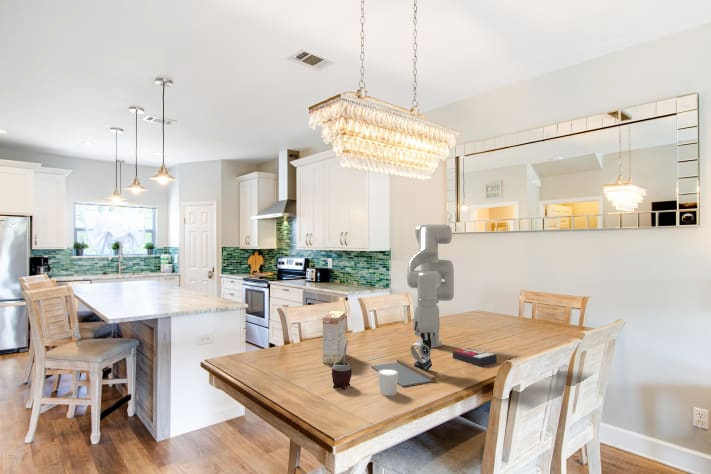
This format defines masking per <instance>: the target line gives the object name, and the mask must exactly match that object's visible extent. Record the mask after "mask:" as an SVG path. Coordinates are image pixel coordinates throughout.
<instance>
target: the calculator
mask: <svg viewBox="0 0 711 474" xmlns="http://www.w3.org/2000/svg"><path fill="white" fill-rule="evenodd" d="M452 359H454V360H457V361H460V362H463V363H467V364H471V365H473V366H476V367H479V368H483V367H486V366H491V365H493V364H497V363H498V362H497V360H498V359H497V354H495V353H493V352H488V351H485V350H482V349H476V348H473V347H472V348H471V347H466V348H462V349H458V350H453V352H452Z"/></svg>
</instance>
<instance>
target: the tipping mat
mask: <svg viewBox="0 0 711 474" xmlns="http://www.w3.org/2000/svg"><path fill="white" fill-rule="evenodd" d="M370 367H371V369H373V370H374V371H376V372H378V371H380V370H382V369H393V370H396V371H398V382H397V386H400V387H402V388H406V387H407V388H408V387H413V386H418V385H423V384H425V385H426V384H429V383H435V382H436V380H437V379H436V376H435V375H433V374H432V373H429V372H428V371H424V370H422V369H420V368H418V367H415V366H414V364H412V363H410V362H408V361H406V360H405V359H402V358H399V359H398V358H397V359H396V362H391V363H384V364H378V365H377V364H376V365H371V366H370Z"/></svg>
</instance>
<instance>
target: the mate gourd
mask: <svg viewBox="0 0 711 474" xmlns="http://www.w3.org/2000/svg"><path fill="white" fill-rule="evenodd" d="M348 342H349V340H346V339H345V348H344V356H343V361H339V362H337V363H335V364H333V365H332V367H331V368H332V370H331V378H332V382H333V383H332V384H333V386H332V389H337V388H338V389H339V388H340V389H341V388H342V390H344V391H345V390H347V387H351V384H350V382H351V378H352V374H353V373H352V366H351V364H350V363H349V362H346V358H347V357H346V355H347V349H348V348H347V347H348Z"/></svg>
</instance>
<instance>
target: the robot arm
mask: <svg viewBox="0 0 711 474" xmlns="http://www.w3.org/2000/svg"><path fill="white" fill-rule="evenodd" d="M414 230H415V232H414V234H415V239H416V240H417V243H418V252H417V253H416V254H414V255H413V256H412V257H411V259H410V260H409V262H408V265H407V271H406V273H407V274H406V283H407V285H408V287H409V288H411V289H417V306H415V309H414V314H413V323H412V324H413V325H412V326H413V327H412V329H413V331H414V335H415V336H416V337H418V340H416V342H420V343H423V344H426V345H427V346H429V348H430V351H431V350H432V349H433V348H440V347H442V346H443V342H442V341H440V327H441V326H440V325H441V324H440V323H441V322H440V308H439V306H438V305H437V304H439V301H441V302H446V301H447V302H449V301H452V300H453V299H454V296H455V267H454V264H453V262H452V261H451V260H449V259H439V245H440V244H441V245H444V244H445V245H447V244H448V245H449V244H450V243H451V242H452V241H453V240H452V239H453V231H452V227H451V225H449V224H421V225H417V226H416V227H415V229H414ZM419 266H420V270H416V268H418V267H419ZM442 280H444V281H442Z"/></svg>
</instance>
